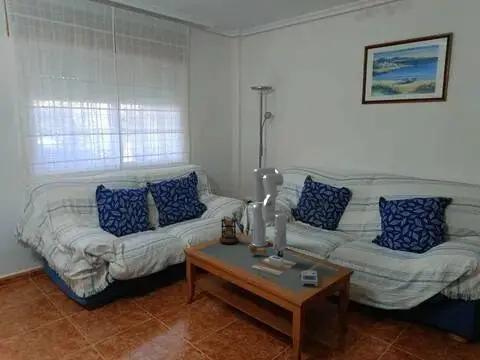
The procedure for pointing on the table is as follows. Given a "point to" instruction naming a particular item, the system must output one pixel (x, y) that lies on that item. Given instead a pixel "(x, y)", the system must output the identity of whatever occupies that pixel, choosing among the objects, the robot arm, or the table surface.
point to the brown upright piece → (228, 231)
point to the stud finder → (276, 260)
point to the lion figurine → (257, 250)
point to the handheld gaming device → (309, 277)
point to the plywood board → (273, 266)
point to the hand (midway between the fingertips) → (280, 259)
